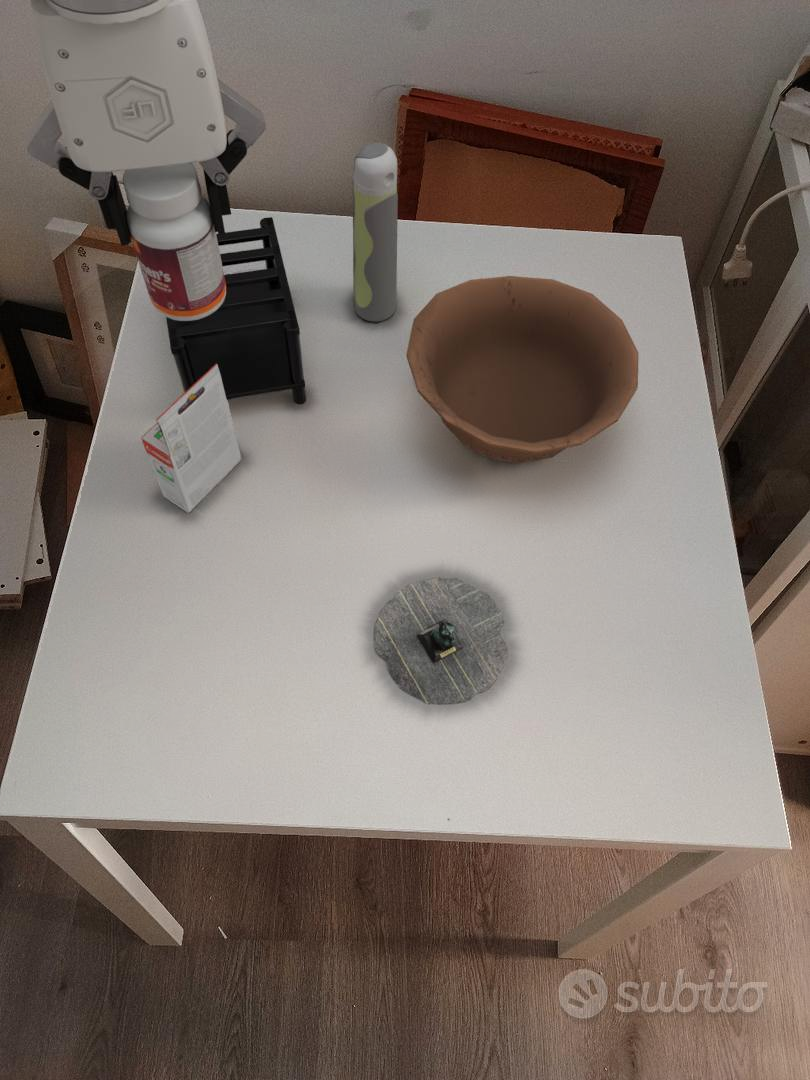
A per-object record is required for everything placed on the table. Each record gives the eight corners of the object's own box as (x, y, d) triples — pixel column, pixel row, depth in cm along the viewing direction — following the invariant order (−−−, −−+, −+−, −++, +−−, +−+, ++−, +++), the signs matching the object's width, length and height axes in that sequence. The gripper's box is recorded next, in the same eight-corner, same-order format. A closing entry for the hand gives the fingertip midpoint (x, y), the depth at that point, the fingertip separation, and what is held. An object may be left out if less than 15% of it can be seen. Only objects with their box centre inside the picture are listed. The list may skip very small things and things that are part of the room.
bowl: (442, 323, 94) (450, 245, 84) (631, 378, 91) (662, 304, 81) (371, 472, 83) (371, 402, 74) (583, 541, 80) (611, 477, 71)
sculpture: (470, 728, 71) (419, 679, 67) (401, 708, 78) (350, 661, 73) (531, 615, 76) (486, 561, 71) (460, 605, 82) (415, 555, 78)
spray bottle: (372, 330, 93) (372, 173, 75) (345, 306, 94) (338, 147, 77) (404, 310, 94) (412, 152, 77) (377, 286, 96) (378, 127, 79)
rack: (193, 422, 86) (170, 349, 76) (176, 312, 93) (154, 232, 84) (307, 403, 87) (299, 329, 78) (282, 296, 95) (272, 216, 85)
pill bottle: (135, 298, 67) (94, 176, 57) (192, 259, 70) (162, 135, 60) (187, 336, 65) (154, 216, 55) (243, 294, 68) (221, 173, 58)
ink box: (162, 497, 81) (123, 402, 68) (216, 444, 84) (188, 343, 72) (190, 516, 80) (156, 422, 67) (244, 461, 83) (220, 362, 71)
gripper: (-63, 10, 43) (53, 277, 59) (269, -17, 45) (295, 246, 61) (-57, -62, 46) (51, 207, 62) (251, -84, 49) (280, 181, 65)
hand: (172, 225), depth 61 cm, fingers closed on pill bottle, 6 cm apart
